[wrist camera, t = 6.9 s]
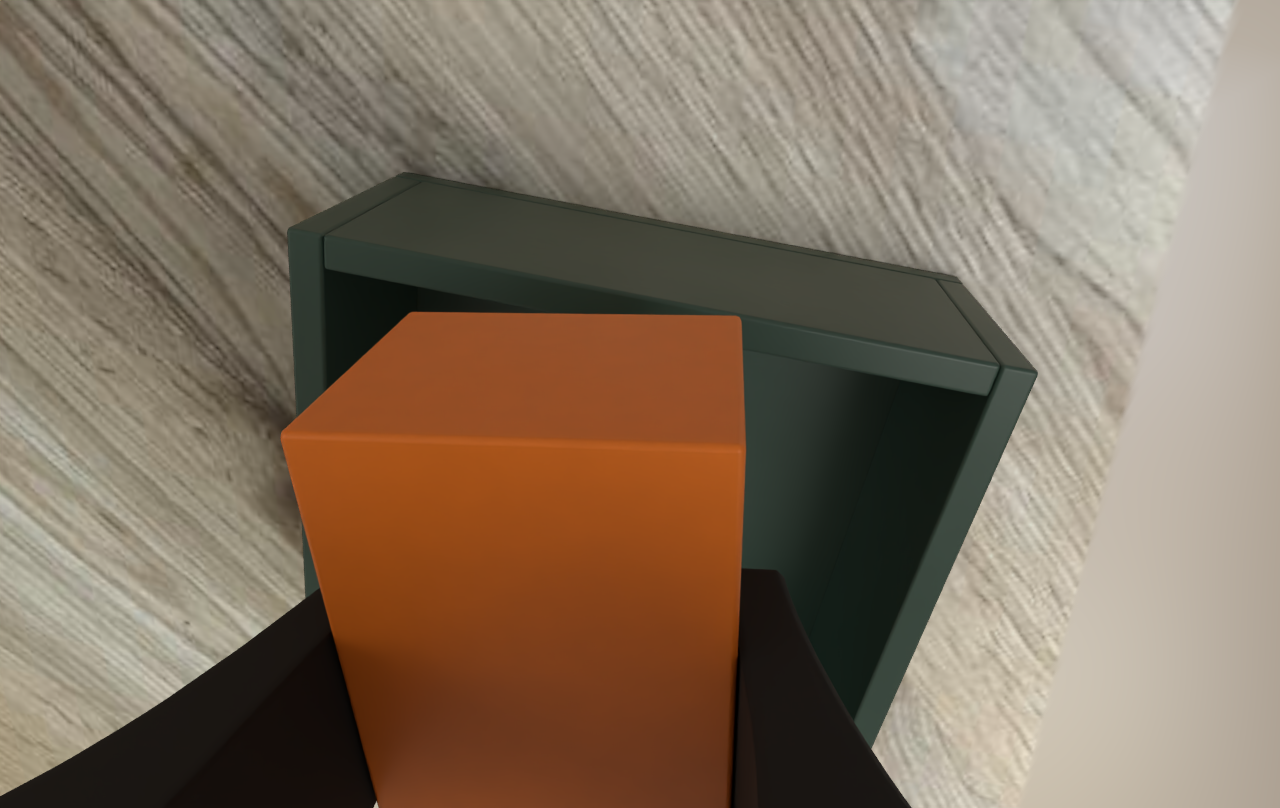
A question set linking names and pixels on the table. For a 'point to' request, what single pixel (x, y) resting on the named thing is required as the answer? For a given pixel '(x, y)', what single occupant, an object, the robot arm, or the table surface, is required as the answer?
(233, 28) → the table surface
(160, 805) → the robot arm
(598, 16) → the table surface
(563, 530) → the orange rectangular block
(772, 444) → the bin
